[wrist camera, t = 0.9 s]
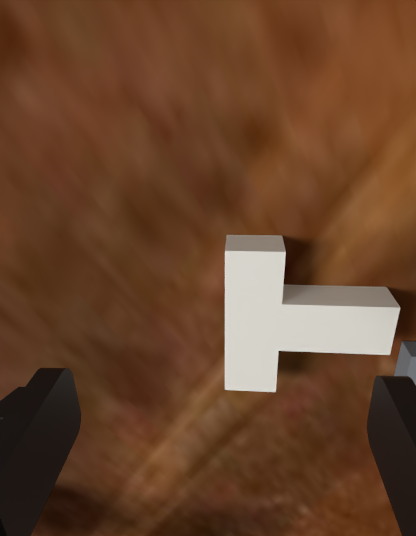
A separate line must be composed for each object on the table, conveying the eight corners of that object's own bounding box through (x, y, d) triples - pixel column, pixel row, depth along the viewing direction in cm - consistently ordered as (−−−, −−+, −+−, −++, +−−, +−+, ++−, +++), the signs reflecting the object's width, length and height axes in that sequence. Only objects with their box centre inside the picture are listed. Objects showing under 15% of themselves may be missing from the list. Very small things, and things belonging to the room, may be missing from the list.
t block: (226, 365, 34) (224, 389, 32) (226, 234, 29) (224, 251, 27) (369, 370, 33) (380, 396, 31) (396, 237, 28) (412, 253, 26)
